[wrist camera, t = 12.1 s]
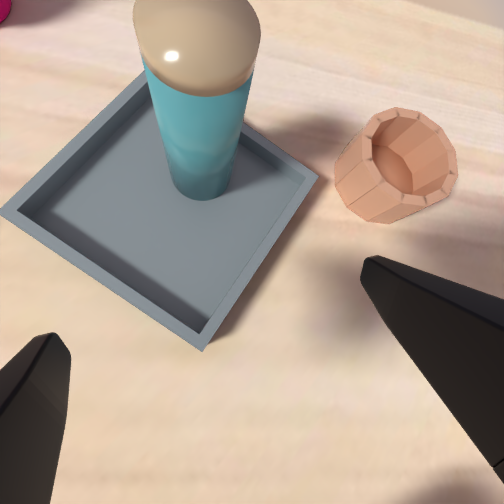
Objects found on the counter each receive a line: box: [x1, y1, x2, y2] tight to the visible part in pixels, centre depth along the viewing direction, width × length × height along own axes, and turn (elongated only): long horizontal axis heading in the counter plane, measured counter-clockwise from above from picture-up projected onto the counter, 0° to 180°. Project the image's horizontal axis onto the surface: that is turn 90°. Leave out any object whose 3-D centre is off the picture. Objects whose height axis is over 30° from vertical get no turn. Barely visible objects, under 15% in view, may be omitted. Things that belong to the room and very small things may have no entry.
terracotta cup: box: [335, 107, 458, 224], centre depth 24 cm, size 8×8×4 cm
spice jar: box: [133, 0, 261, 201], centre depth 16 cm, size 5×5×12 cm
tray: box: [0, 70, 319, 352], centre depth 21 cm, size 16×16×2 cm
